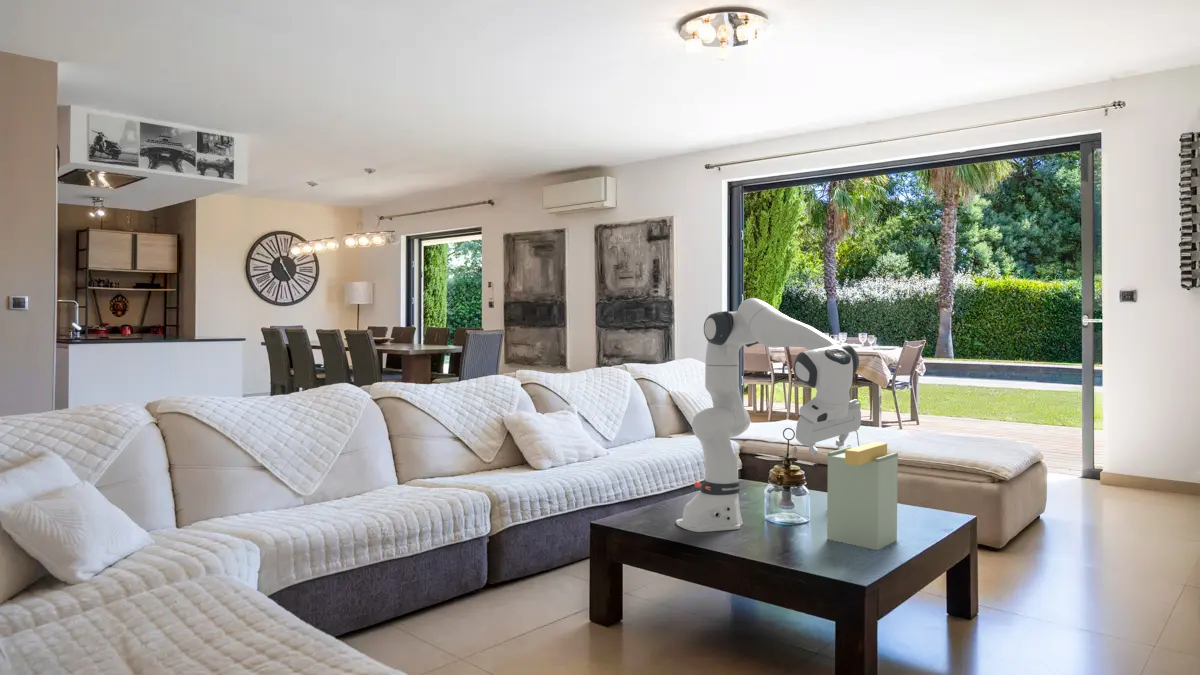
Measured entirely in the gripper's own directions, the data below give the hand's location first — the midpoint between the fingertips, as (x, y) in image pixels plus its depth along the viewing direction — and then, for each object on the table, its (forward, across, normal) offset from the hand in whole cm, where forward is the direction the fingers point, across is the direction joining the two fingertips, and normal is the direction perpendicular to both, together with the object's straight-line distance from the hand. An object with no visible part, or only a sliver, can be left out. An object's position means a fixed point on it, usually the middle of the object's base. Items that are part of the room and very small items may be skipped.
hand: (826, 449), depth 217 cm
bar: (+11, -20, -4) cm, 23 cm away
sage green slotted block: (+38, -19, 0) cm, 42 cm away
